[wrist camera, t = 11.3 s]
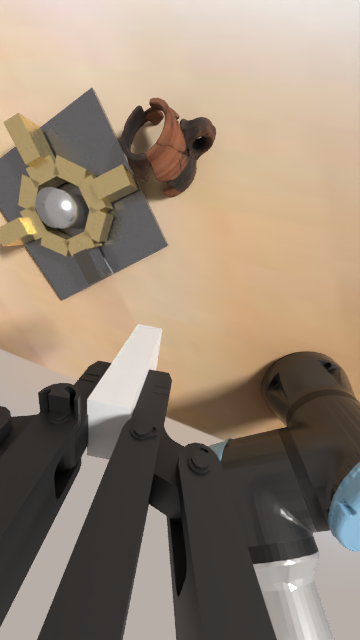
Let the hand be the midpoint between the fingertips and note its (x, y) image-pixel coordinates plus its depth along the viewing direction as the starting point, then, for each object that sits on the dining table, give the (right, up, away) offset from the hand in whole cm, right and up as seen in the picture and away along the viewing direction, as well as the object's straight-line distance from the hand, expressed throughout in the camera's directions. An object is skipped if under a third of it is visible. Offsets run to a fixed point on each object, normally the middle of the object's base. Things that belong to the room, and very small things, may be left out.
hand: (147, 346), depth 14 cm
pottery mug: (+1, +25, +19) cm, 32 cm away
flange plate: (-15, +19, +22) cm, 33 cm away
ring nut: (-15, +19, +21) cm, 32 cm away
